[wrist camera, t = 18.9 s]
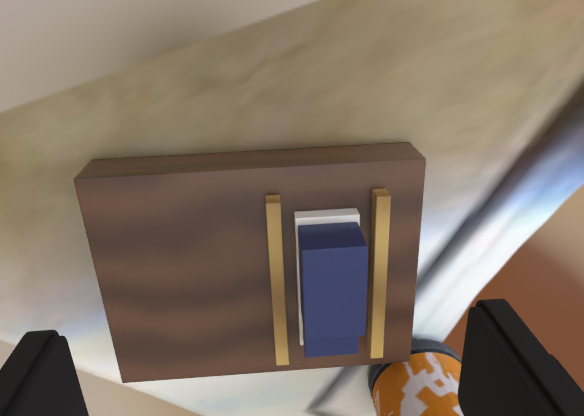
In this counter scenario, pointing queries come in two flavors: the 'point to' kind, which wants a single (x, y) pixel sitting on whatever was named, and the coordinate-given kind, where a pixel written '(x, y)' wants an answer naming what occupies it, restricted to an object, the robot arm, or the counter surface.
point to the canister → (418, 382)
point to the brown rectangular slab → (244, 254)
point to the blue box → (330, 281)
